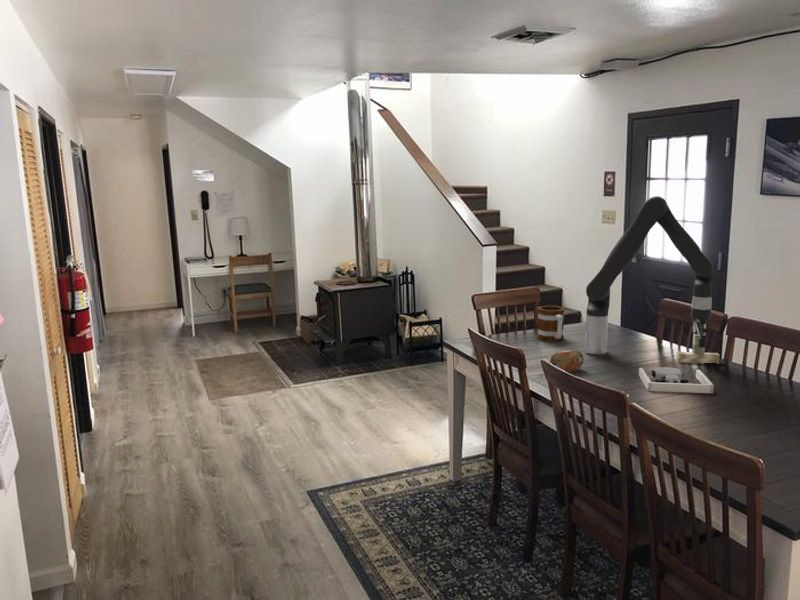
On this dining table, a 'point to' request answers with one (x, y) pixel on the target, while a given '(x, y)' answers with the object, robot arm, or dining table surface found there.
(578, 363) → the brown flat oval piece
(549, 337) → the mug
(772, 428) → the dining table surface
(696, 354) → the scraper
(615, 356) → the dining table surface
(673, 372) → the robot toy
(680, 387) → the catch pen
